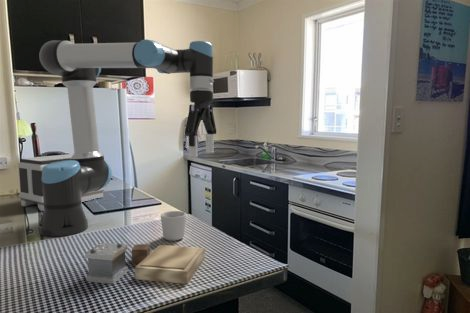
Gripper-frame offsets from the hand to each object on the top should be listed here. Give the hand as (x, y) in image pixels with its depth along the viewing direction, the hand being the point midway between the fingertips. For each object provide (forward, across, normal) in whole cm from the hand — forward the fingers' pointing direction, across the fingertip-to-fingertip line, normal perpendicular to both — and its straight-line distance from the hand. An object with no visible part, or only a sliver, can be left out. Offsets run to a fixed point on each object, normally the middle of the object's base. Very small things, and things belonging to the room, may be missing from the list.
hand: (201, 154), depth 118 cm
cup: (+26, -9, +6) cm, 29 cm away
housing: (+26, -40, +8) cm, 48 cm away
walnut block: (+26, -29, +5) cm, 40 cm away
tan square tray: (+26, -31, -5) cm, 41 cm away
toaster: (+27, +19, +77) cm, 83 cm away
